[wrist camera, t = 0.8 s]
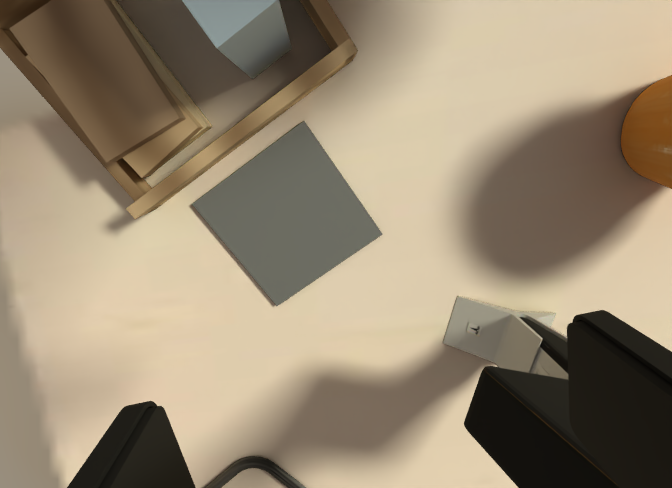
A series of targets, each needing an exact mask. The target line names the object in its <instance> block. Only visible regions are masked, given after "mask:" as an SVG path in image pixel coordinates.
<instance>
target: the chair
mask: <svg viewBox="0 0 672 488" xmlns="http://www.w3.org/2000/svg"><path fill="white" fill-rule="evenodd" d="M248 468H259V469H263V470H265V471H267V472H268V473H270V474H271V475H272V476H274V477H275V478H276V479H277V480H279V481H280V482H281V483H283V484H284V485H285V486H287V487H288V488H306V487H305V486H303V485H302V484H301V483H299V482H298V481H297V480H296V479H294V478H293V477H292V476H290V475H289V474H288V473H287V472H285V471H284V470H283V469H281V468H280V467H279V466H278V465H276V464H275V463H274V462H272V461H270V460H269V459H266V458H263V457H255V456H253V457H246V458H243V459H240V460H239V461H237V462H236V463H234V464H233V465H232V466H230V467H229V468H228V469H227V470H226V471H224V472H223V473H222V474H221V475H220V476H218V477H217V478H216V479H215V480H214V481H213V482H211V483H210V484H209V485H208V486H207V487H205V488H221V487H222V486H224V485H225V484H226V483H227V482H228V481H230V480H231V479H232V478H233V477H234V476H236V475H237V474H238V473H239V472H241V471H242V470H245V469H248Z"/></svg>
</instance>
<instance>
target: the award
mask: <svg viewBox="0 0 672 488" xmlns="http://www.w3.org/2000/svg"><path fill="white" fill-rule="evenodd" d="M555 315H556V313H552V312H526V311H515V310H511V309H507V308H503V307H500V306H496V305H492V304H488V303H484V302H481V301H477V300H473V299H469V298H466V297H461V296H457V299H456V302H455V305H454V308H453V312H452V315H451V318H450V321H449V324H448V328H447V331H446V334H445V337H444V341H443V343H444V344H446V345H449V346H451V347H454V348H457V349H459V350H462V351H465V352H467V353H470V354H473V355H475V356H478V357H480V358H483V359H486V360H488V361H491V362H493V363H495V364H496V365H497V366H498V367H493V366H487V367H485V368H484V369H483V370H482V373H481V375H480V378H479V381H478V384H477V387H476V390H475V393H474V396H473V398H472V401H471V404H470V407H469V410H468V413H467V416H466V418H465V421H464V426H465V427H466V429H467V431H468V432H469V433H470V434H471V435H472V436H473V437H474V438H475V440H476V441H477V442H478V443H479V444H480V445H481V446H482V447H483V449H484V450H485V451H486V452H487V453H488V454H489V455H490V456H491V457H492V459H493V460H494V461H495V462H496V463H497V464H498V465H499V466H500V467H501V469H502V470H503V471H504V472H505V473H506V474H507V475H508V476H509V477H510V479H511V480H512V481H513V482H514V483H515V484H516V485H517V486H518V488H619V487H618V485H617V484H616V483H615V482H614V481H613V479H612V478H611V477H610V476H609V475H608V473H607V472H606V471H605V470H604V469H603V468H602V466H601V465H600V464H599V463H598V462H597V460H596V459H595V458H594V457H593V456H592V455H591V453H590V452H589V451H588V450H587V449H586V447H585V446H584V445H583V444H582V443H581V441H580V440H579V439H578V438H577V436H576V435H575V433H574V432H573V430H572V427H571V424H570V419H569V385H568V349H567V336H565V335H563V334H562V333H560V332H558V331H556V330H555V329H553V328H551V326H552V323H553V321H554V318H555Z"/></svg>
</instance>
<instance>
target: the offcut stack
mask: <svg viewBox="0 0 672 488" xmlns="http://www.w3.org/2000/svg"><path fill="white" fill-rule="evenodd" d="M9 29H10V30H11V32H12V33H13V34H14V36H15V37H16V39H17V40H18V41H19V43H20V44H21V45H22V47H23V48H24V50H25V51H26V52H27V54H28V55H27V56H26V58H27V59H28V60H29V61H30V62H31V64H32V65H33V66H34V67H35V68H36V69H37V70H38V71H39V72H40V73H41V74H42V75H43V76H44V77H45V79H46V80H47V81H48V83H49V84H50V86H51V87H52V88H53V90H54V91H55V92H56V94H57V95H58V97H59V98H60V99H61V101H62V102H63V103H64V105H65V106H66V108H67V109H68V110H69V112H70V113H71V115H72V116H73V117H74V119H75V120H76V121H77V123H78V124H79V126H80V127H81V128H82V130H83V131H84V133H85V134H86V135H87V137H88V138H89V139H90V141H91V142H92V144H93V145H94V146H95V148H96V149H97V150H98V152H99V153H100V155H101V156H102V157H103V159H104V160H105V162H106V163H107V162H114V161H117V160H119V159H121V158H123V159H124V160H125V161H126V162H127V163H128V164H129V165H130V166H131V167H132V168H133V169H134V170H135V171H136V173H137V174H138V175H139V176H140V177H141V178H143V177H147V176H150V175H151V174H152V173H154V172H155V171H156V170H157V169H158V168H159V167H161V166H162V165H163V164H164V163H166V162H167V161H168V160H170V159H171V158H172V157H174V156H175V155H176V154H177V153H179V152H180V151H181V150H183V149H184V148H185V147H187V146H188V145H189V144H190V143H192V142H193V141H194V140H196V139H197V138H198V137H200V136H201V135H202V134H203V133H205V132H206V131H207V130H209V129H210V128H211V127H212V125H211V124H210V123H209V122H208V120H207V119H206V118H205V116H204V115H203V114H202V112H201V111H200V110H199V108H198V107H197V106H196V105H195V103H194V102H193V101H192V99H191V98H190V97H189V95H188V94H187V93H186V92H185V90H184V89H183V88H182V86H181V85H180V84H179V82H178V81H177V80H176V78H175V77H174V76H173V75H172V73H171V72H170V71H169V69H168V68H167V67H166V65H165V64H164V63H163V61H162V60H161V59H160V58H159V56H158V55H157V54H156V52H155V51H154V50H153V48H152V47H151V46H150V45H149V43H148V42H147V41H146V39H145V38H144V37H143V35H142V34H141V33H140V31H139V30H138V29H137V28H136V26H135V25H134V24H133V22H132V21H131V20H130V18H129V17H128V16H127V15H126V13H125V12H124V11H123V9H122V8H121V7H120V5H119V4H118V3H117V1H116V0H51V1H50V2H48V3H47V4H45V5H44V6H42V7H41V8H39V9H38V10H36V11H35V12H33V13H32V14H30V15H29V16H27V17H26V18H24V19H23V20H21V21H20V22H18V23H17V24H15V25H14V26H12V27H11V28H9Z"/></svg>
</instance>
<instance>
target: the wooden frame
mask: <svg viewBox="0 0 672 488" xmlns="http://www.w3.org/2000/svg"><path fill="white" fill-rule="evenodd" d="M50 1H51V0H0V48H1V49H2V50H3V52H4V53H5V54H6V55H7V56H8V57H9V58H10V60H11V61H12V62H13V63H14V64H15V65H16V66H17V68H18V69H19V70H20V71H21V72H22V73H23V74H24V76H25V77H26V78H27V79H28V80H29V81H30V82H31V83H32V85H33V86H34V87H35V88H36V89H37V90H38V91H39V93H40V94H41V95H42V96H43V97H44V98H45V99H46V100H47V102H48V103H49V104H50V105H51V106H52V107H53V109H54V110H55V111H56V112H57V113H58V114H59V115H60V117H61V118H62V119H63V120H64V121H65V122H66V123H67V125H68V126H69V127H70V128H71V129H72V130H73V131H74V133H75V134H76V135H77V136H78V137H79V138H80V139H81V141H82V142H83V143H84V144H85V145H86V146H87V147H88V149H89V150H90V151H91V152H92V153H93V154H94V155H95V157H96V158H97V159H98V160H99V161H100V162H101V163H102V165H103V166H104V167H105V168H106V169H107V170H108V171H109V173H110V174H111V175H112V176H113V177H114V178H115V179H116V181H117V182H118V183H119V184H120V185H121V186H122V187H123V188H124V190H125V191H126V192H127V193H128V194H129V195H130V196H131V198H132V199H133V200H134V201H135V202H134V203H133V204H131V205H130V206H129V207H128V208H126V210H127V211H128V212H129V213H130V214H131V215H132V216H133V217H134V219H136V218H138V217H141V216H143V215H145V214H147V213H149V212H151V211H153V210H155V209H157V208H158V207H159V206H161V205H162V204H163V203H164V202H166V201H167V200H168V199H170V198H171V197H172V196H174V195H175V194H176V193H178V192H179V191H180V190H182V189H183V188H184V187H186V186H187V185H188V184H190V183H191V182H192V181H194V180H195V179H196V178H198V177H199V176H200V175H202V174H203V173H204V172H206V171H207V170H208V169H210V168H211V167H212V166H214V165H215V164H216V163H218V162H219V161H220V160H221V159H223V158H224V157H225V156H227V155H228V154H229V153H231V152H232V151H233V150H235V149H236V148H237V147H239V146H240V145H241V144H243V143H244V142H245V141H247V140H248V139H249V138H251V137H252V136H253V135H255V134H256V133H257V132H259V131H260V130H261V129H263V128H264V127H265V126H267V125H268V124H269V123H271V122H272V121H273V120H275V119H276V118H277V117H278V116H280V115H281V114H282V113H284V112H285V111H286V110H288V109H289V108H290V107H292V106H293V105H294V104H296V103H297V102H298V101H300V100H301V99H302V98H304V97H305V96H306V95H308V94H309V93H310V92H312V91H313V90H314V89H316V88H317V87H318V86H320V85H321V84H322V83H324V82H325V81H326V80H328V79H329V78H330V77H332V76H333V75H334V74H335V73H337V72H338V71H339V70H341V69H342V68H343V67H345V66H346V65H347V64H349V63H350V62H351V61H353V59H354V57H355V55H356V53H357V51H358V50H357V48H356V46H355V45H354V43H353V42H352V40H351V38H350V37H349V35H348V33H347V32H346V30H345V29H344V27H343V25H342V24H341V22H340V21H339V19H338V17H337V16H336V14H335V12H334V11H333V9H332V8H331V6H330V4H329V3H328V1H327V0H300V2H301V4H302V5H303V7H304V8H305V10H306V11H307V13H308V15H309V16H310V18H311V19H312V21H313V22H314V24H315V26H316V27H317V29H318V30H319V32H320V33H321V35H322V37H323V38H324V40H325V41H326V43H327V44H328V46H329V47H330V49H331V51H332V52H331V53H329V54H328V55H327V56H325V57H324V58H323V59H321V60H320V61H319V62H317V63H316V64H315V65H314V66H312V67H311V68H310V69H308V70H307V71H306V72H304V73H303V74H302V75H300V76H299V77H298V78H296V79H295V80H294V81H293V82H291V83H290V84H289V85H287V86H286V87H285V88H283V89H282V90H281V91H279V92H278V93H277V94H276V95H274V96H273V97H272V98H270V99H269V100H268V101H266V102H265V103H264V104H262V105H261V106H260V107H259V108H257V109H256V110H255V111H253V112H252V113H251V114H249V115H248V116H247V117H245V118H244V119H243V120H241V121H240V122H239V123H238V124H236V125H235V126H234V127H232V128H231V129H230V130H228V131H227V132H226V133H224V134H223V135H222V136H221V137H219V138H218V139H217V140H215V141H214V142H213V143H211V144H210V145H209V146H207V147H206V148H205V149H204V150H202V151H201V152H200V153H198V154H197V155H196V156H194V157H193V158H192V159H190V160H189V161H188V162H186V163H185V164H184V165H183V166H181V167H180V168H179V169H177V170H176V171H175V172H173V173H172V174H171V175H169V176H168V177H167V178H166V179H164V180H163V181H162V182H160V183H159V184H158V185H156V186H155V187H154V188H151V187H150V186H149V184H148V183H147V182H146V181H145V180H144V179H143V178H141V177H140V176H139V175H138V174H137V173H136V171H135V170H134V169H133V168H132V167H131V166H130V165H129V164H128V163H127V162H126V161H125V160H124V159H123V158H121V159H119V160H117V161H114V162H107V163H106V162H105V160H104V159H103V157H102V156H101V155H100V153H99V152H98V150H97V149H96V148H95V146H94V145H93V144H92V142H91V141H90V139H89V138H88V137H87V135H86V134H85V133H84V131H83V130H82V128H81V127H80V126H79V124H78V123H77V121H76V120H75V119H74V117H73V116H72V115H71V113H70V112H69V110H68V109H67V108H66V106H65V105H64V103H63V102H62V101H61V99H60V98H59V97H58V95H57V94H56V92H55V91H54V90H53V88H52V87H51V86H50V84H49V83H48V81H47V80H46V79H45V77H44V76H43V75H42V74H41V73H40V72H39V71H38V70H37V69H36V68H35V67H34V66H33V65H32V64H31V62H30V61H29V60H28V59H27V58H26V56H27V55H28V54H27V52H26V51H25V50H24V48H23V47H22V45H21V44H20V43H19V41H18V40H17V39H16V37H15V36H14V34H13V33H12V32H11V30H10V29H9V28H11V27H12V26H14V25H15V24H17V23H18V22H20V21H21V20H23V19H24V18H26V17H27V16H29V15H30V14H32V13H33V12H35V11H36V10H38V9H39V8H41V7H42V6H44V5H45V4H47V3H48V2H50Z"/></svg>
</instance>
